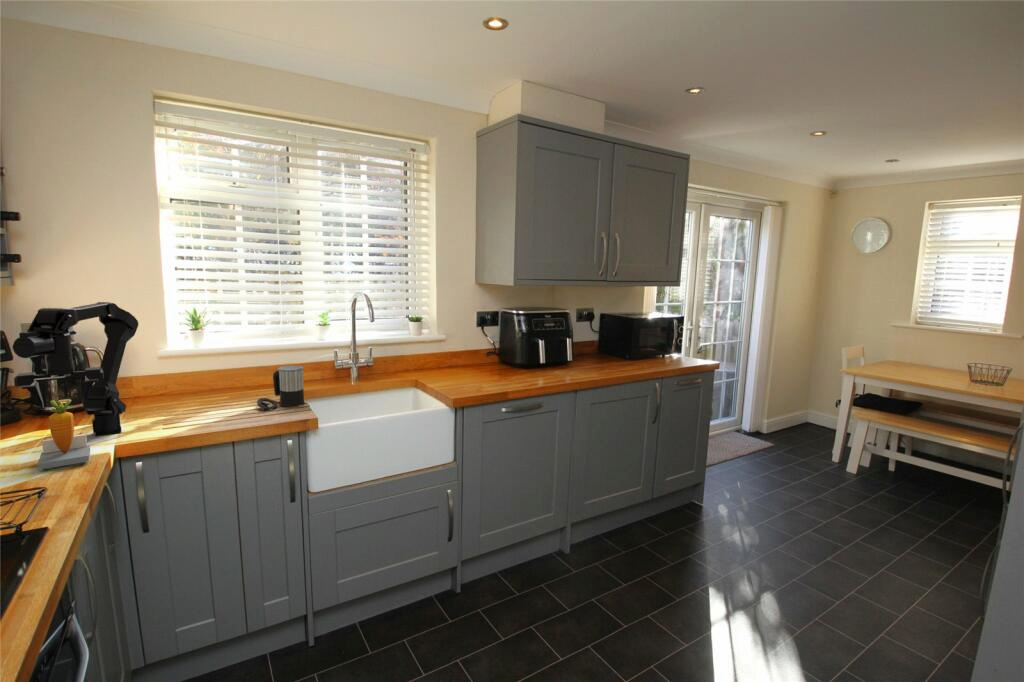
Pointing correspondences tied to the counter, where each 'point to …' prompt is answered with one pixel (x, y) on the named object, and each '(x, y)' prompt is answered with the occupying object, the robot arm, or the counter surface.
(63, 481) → the counter surface
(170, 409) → the counter surface
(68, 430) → the carrot
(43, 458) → the grey and white block
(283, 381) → the milk frother
